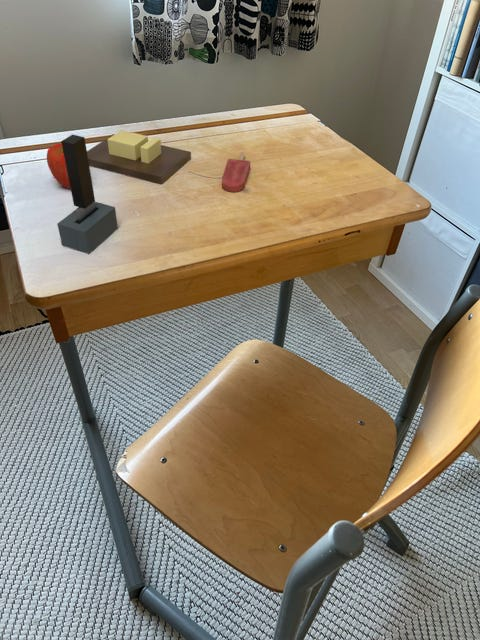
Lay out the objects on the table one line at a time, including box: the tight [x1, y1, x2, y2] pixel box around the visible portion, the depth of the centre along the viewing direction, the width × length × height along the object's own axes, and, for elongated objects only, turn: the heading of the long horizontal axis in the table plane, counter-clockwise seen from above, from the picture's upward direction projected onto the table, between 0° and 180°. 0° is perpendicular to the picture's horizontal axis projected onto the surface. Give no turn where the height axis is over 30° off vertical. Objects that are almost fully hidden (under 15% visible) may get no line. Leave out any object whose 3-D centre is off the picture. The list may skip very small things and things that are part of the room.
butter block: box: [106, 129, 149, 160], centre depth 100 cm, size 6×5×3 cm
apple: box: [46, 143, 71, 189], centre depth 91 cm, size 6×6×8 cm
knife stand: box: [56, 201, 119, 255], centre depth 80 cm, size 5×8×4 cm, turn 157°
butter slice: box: [140, 137, 162, 164], centre depth 98 cm, size 2×5×3 cm, turn 157°
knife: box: [60, 134, 96, 224], centre depth 76 cm, size 2×4×16 cm, turn 157°
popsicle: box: [221, 151, 251, 193], centre depth 99 cm, size 4×2×15 cm
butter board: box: [87, 133, 192, 185], centre depth 101 cm, size 18×12×2 cm, turn 67°
